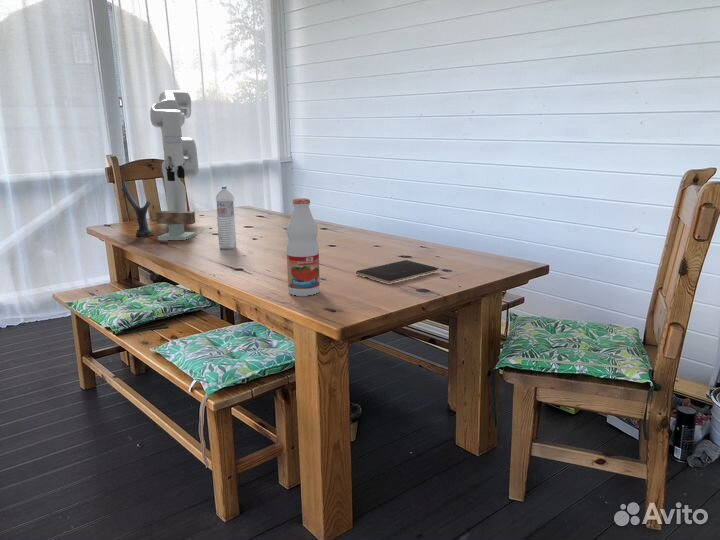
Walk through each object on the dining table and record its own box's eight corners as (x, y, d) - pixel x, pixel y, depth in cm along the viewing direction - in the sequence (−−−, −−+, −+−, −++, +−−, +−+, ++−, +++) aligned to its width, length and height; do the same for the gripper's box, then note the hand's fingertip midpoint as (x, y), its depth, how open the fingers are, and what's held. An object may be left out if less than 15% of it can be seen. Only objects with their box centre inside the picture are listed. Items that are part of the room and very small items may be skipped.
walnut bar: (156, 223, 254) (155, 212, 252) (161, 222, 257) (160, 210, 256) (191, 224, 251) (190, 212, 250) (195, 222, 255) (194, 211, 254)
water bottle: (215, 248, 235) (211, 186, 228) (230, 245, 239) (226, 184, 233) (225, 250, 230) (221, 187, 224) (239, 248, 235) (236, 186, 229)
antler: (151, 233, 266) (146, 178, 260) (156, 236, 260) (151, 180, 254) (125, 236, 260) (119, 180, 254) (129, 239, 254) (123, 181, 247)
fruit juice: (313, 286, 180) (311, 196, 173) (324, 294, 172) (322, 200, 165) (284, 290, 176) (280, 198, 169) (293, 298, 168) (290, 202, 161)
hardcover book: (438, 274, 196) (438, 268, 195) (388, 287, 181) (389, 280, 181) (405, 265, 208) (405, 259, 207) (355, 277, 193) (355, 270, 192)
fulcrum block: (170, 234, 263) (169, 220, 261) (195, 235, 261) (194, 221, 259) (157, 240, 251) (156, 225, 249) (184, 240, 249) (183, 225, 248)
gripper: (174, 138, 262) (177, 176, 266) (155, 141, 245) (159, 181, 250) (189, 138, 261) (192, 177, 265) (172, 141, 244) (175, 182, 249)
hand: (176, 179), depth 258 cm, fingers open, 9 cm apart
